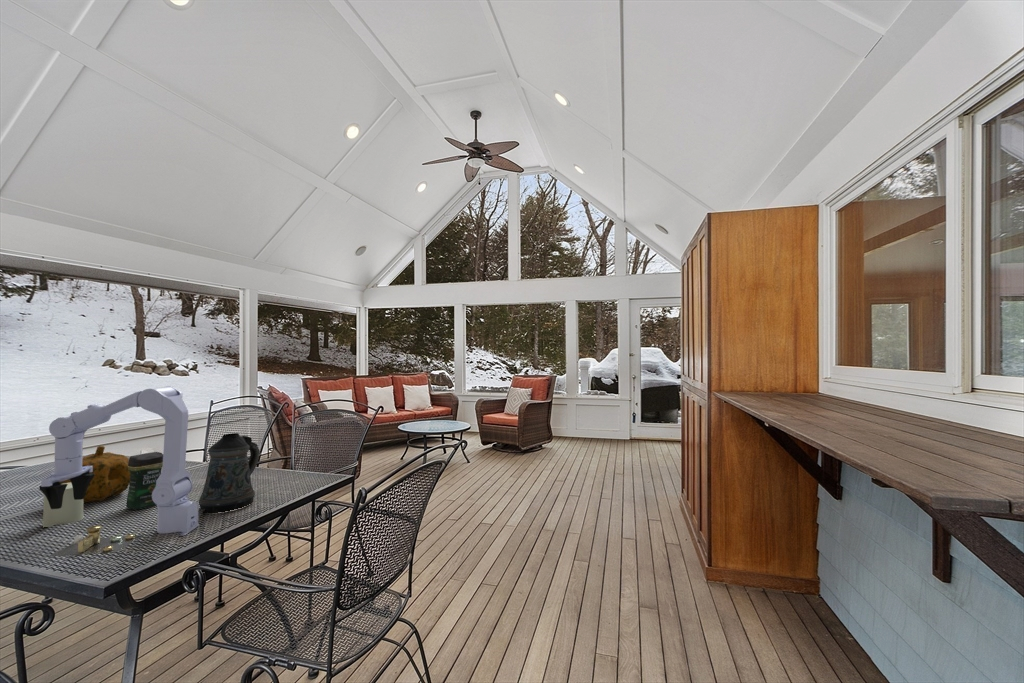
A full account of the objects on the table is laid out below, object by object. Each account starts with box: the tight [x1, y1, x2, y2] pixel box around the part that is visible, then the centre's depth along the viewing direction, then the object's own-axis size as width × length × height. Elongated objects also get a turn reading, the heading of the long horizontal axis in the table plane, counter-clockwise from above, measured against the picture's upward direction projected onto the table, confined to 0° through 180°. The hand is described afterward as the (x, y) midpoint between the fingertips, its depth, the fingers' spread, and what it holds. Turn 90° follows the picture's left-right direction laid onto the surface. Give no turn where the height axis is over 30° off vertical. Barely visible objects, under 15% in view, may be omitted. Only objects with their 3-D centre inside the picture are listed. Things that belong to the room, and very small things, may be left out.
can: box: [41, 482, 85, 528], centre depth 137 cm, size 9×9×12 cm
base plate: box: [47, 533, 145, 558], centre depth 117 cm, size 16×10×3 cm, turn 98°
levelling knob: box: [78, 525, 103, 553], centre depth 116 cm, size 7×3×4 cm, turn 18°
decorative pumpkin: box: [60, 445, 130, 504], centre depth 158 cm, size 20×21×20 cm
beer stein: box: [198, 432, 260, 514], centre depth 152 cm, size 16×19×25 cm
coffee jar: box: [125, 451, 163, 511], centre depth 151 cm, size 10×8×19 cm
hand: (67, 503), depth 125 cm, fingers open, 7 cm apart
